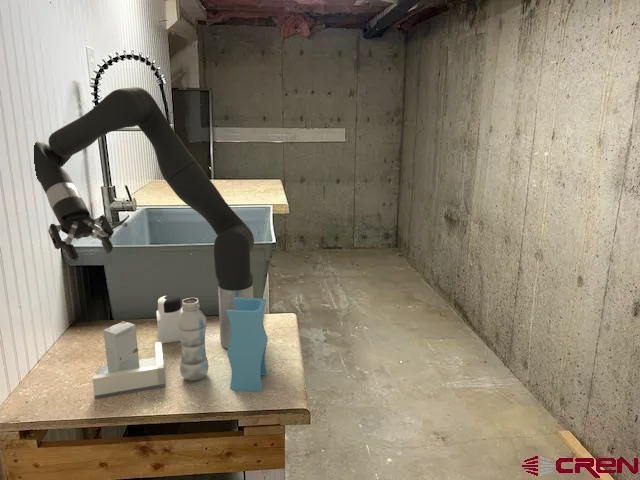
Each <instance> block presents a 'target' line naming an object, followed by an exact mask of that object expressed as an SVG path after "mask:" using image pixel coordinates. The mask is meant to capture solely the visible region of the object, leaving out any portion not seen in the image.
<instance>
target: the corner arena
mask: <svg viewBox="0 0 640 480" xmlns="http://www.w3.org/2000/svg"><path fill="white" fill-rule="evenodd" d="M154 345H155V357H150V358H143V359H139V367H140V368H138V369H131V370H125V371H119V372H112V373H108V367H107V364H105V365H103V364H102V365H99V366H98V369H97V370H98V371H97V374H94V375H92V385H93V394H94V399H101V398H107V397H113V396H118V395H125V394H129V393H135V392H141V391H148V390H152V389H154V390H155V389H158V388H160V389H161V388H165V387H166V379H165V367H164V366H165V365H164V357H163V356H164V355H163V346H162V344H161V342H159V341H158V342H154Z"/></svg>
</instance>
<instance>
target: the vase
mask: <svg viewBox="0 0 640 480" xmlns="http://www.w3.org/2000/svg"><path fill="white" fill-rule="evenodd" d="M266 302H267V301H266V299H265V298H260V297H253V298H240V297H234V304H235V308H236V310H227V311H226V312H227V315H228V318H229V321H230V325H231V340H230V345H229V348H228V349H227V359H228V362H229V365H230V370H231V378H230V385H229V389H230V390H232V391H240V392H241V391H244V392H259V393H260V392H263V391H264V388H263V383H262V376H268V375H269V372H268V368H267V364H266V353H267V352H266V351H267V346H268V341H269V340H268V338H269V337H268V335H267V333H266V330H265V325H264V314H265V307H266Z"/></svg>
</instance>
